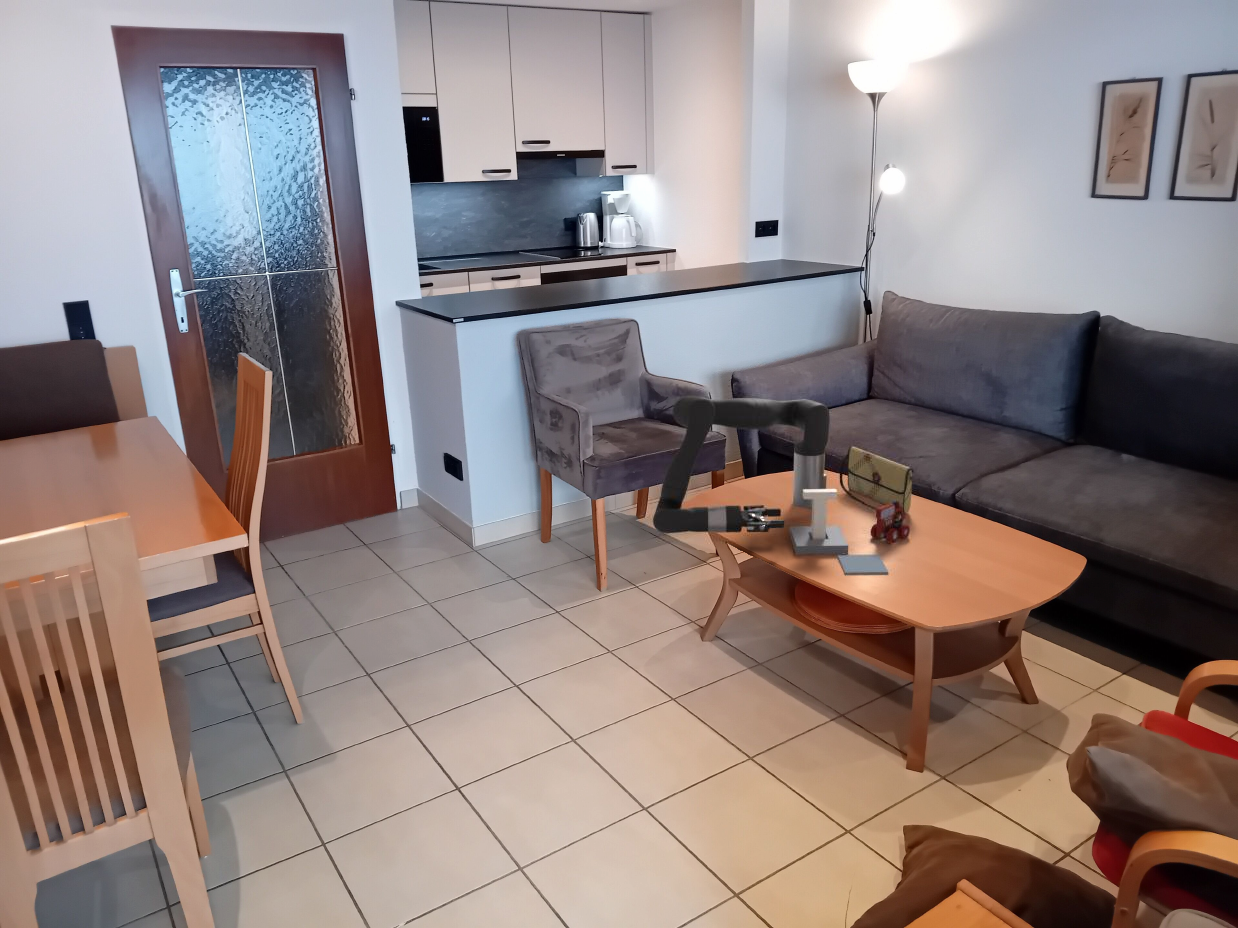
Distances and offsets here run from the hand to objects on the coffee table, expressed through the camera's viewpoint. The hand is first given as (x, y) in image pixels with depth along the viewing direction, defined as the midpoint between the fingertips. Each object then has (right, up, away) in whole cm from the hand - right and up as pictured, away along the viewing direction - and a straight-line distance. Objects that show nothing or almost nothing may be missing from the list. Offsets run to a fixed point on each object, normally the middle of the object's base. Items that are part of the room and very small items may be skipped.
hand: (782, 518), depth 245 cm
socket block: (+10, -7, +2) cm, 13 cm away
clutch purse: (+34, +3, +30) cm, 45 cm away
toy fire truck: (+31, -6, +4) cm, 32 cm away
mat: (+19, -12, -12) cm, 25 cm away
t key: (+10, -7, +2) cm, 13 cm away
